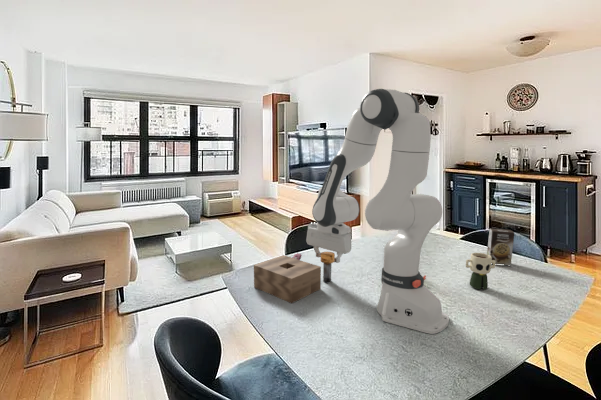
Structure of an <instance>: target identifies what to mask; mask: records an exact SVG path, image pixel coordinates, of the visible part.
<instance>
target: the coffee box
mask: <svg viewBox="0 0 601 400" xmlns="http://www.w3.org/2000/svg"><path fill="white" fill-rule="evenodd" d="M488 232H489V233H488V240H487V241H488V242H487V250H486V251H487V252H486V254H488V255H490V256H491V257H492V260H495V262H496V263H495V264H504V265H512V260H513V259H512V256H513V250H514V249H513V248H514V239H515V232H514V231H513V230H511V229H505V228H492V227H491V228H489V231H488ZM492 264H493V263H492Z"/></svg>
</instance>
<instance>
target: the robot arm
mask: <svg viewBox="0 0 601 400" xmlns="http://www.w3.org/2000/svg"><path fill="white" fill-rule="evenodd" d="M360 101H361V102H360V105H359V107H358V108H356V109H355V110H354V111H353V112H352V115H351V117H350V119H349V122H348V124H347V127H346V131H345V135H344V139H343V142H342V144H341V147H340V150H338V152H337V154H336V155H335V156H334V157H333V158H332V159H331V162H330V164H329V167H328V170H327V173H326V175H325V178H324V180H323V183H322V186H321V187H319V190H318V193H317V199H316V200H315V202H314V204H313V206H312V210H311V211H312V217H313V219H314V220H315V222H310V223H308V225H307V231H306V239H305V241H306V243H307V245H309V246H312V247H313V250H314V252H315V258H321V253H322V252H320V250H319V249H323V250H326V251H330V252H334V253H336V255H337V256H335V258H334V260H335V261H334V262H333V263H337V264H339V263H340V262H341V258H342V256H343V255H346V254H348V253H350V252H351V251H352V237H351V234H350V233H351V230H352V229H351V226H349V225H346V224H345V223H346V222H351V221H354V220H356V219H357V218H358V217H359V215H360V210H361V209H360V203H359V202H358V200H357V199H356V198H355V197H354V196H350V195H348V194H347V193H345V192H344V191H343V190H341V186H342V183H343V181H344V179H345V178H346V177H347V176H349V174H351V173H352V172H354V171H356V170H358V169H360V168H362V167H364V166H367V164H369V163H370V161H372V159H373V157H374V155H375V152H376V149H377V144H378V141H379V136H380V134H381V131H382V130H387V129H388V130H390V132H391V134H392V143H391V144H392V145H391V153H390V160H389V161H390V162H389V168H388V175H387V177H386V180H385V183H384V184H383V186H382V188H380V190H379V192H378V193H376V195H375V196H374V197H372V198H371V199H370V200H368V202H367V204H366V206H365V210H364V216H365V220H366V222H367V224H368V225H369V227H370V228H372V229H374V230H379V231H386V232H390V231H397V232H396V233H395V235H394V237H392V238H391V239H390V240H388V242H386V243H385V245H384V249H383V250H384V251H383V266H382V268H381V277H380V278H381V279H380V280H381V281H380V282H381V289H380V294H379V299H378V303H377V305H376V311H377V313H378V314H379V315H380V316H381V320H382V321H383V322H385V323H388V324H392V325H396V326H400V327H403V328H408V329H411V330H414V331H417V332H422V333H426V334H428V335H433V334H438V333H440V332H442V331H444V330H445V329H446V328H447V327H448V325H449V323H450V318H449V315H448V314H447V313H445V312H444V311H442V310H443V309H442V303H441V300H440V299H439V298H438V297H437V295H435V294H434V293H433V292H432V291H431V290H430V289H429V288H428V287H426V285H425V284H424V283H425V280H426V279H427V275H424V276H423V275H422V274H421V272H420V271H419V270H420V259H421V251H422V247H423V245H424V242H425V239H426V238H427V236H428V234H429V233H430V231H431V230H432V229H433V228H434V227H435V226H436V225H437V224H438V223H439V222H440V221H441V219H442V217H443V207H442V203H441V202H440V200H439V199H438V198H437V197H435V196H433V195H429V194H423V193H420V194H419V193H417V194H412V192H413V191H414V189H415V188H416V187H417V186H418V185H419V184H421V183H422V182H423V181H424V180H426V178H427V175H428V169H429V161H430V152H431V124H430V120H429V118H428V117H427V116H426V115H424V114H422V113H419V112H420V104H419V101H418V99H417V98H416V97H415V96H414V95H412V94H410V93H408V92H403V91H399V90H396V89H390V88H389V89H388V88H387V89H385V88H375V89H373V90H370V91H368V92H367V93H365V95H364V96H363V97H362V99H361V100H360Z"/></svg>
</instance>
